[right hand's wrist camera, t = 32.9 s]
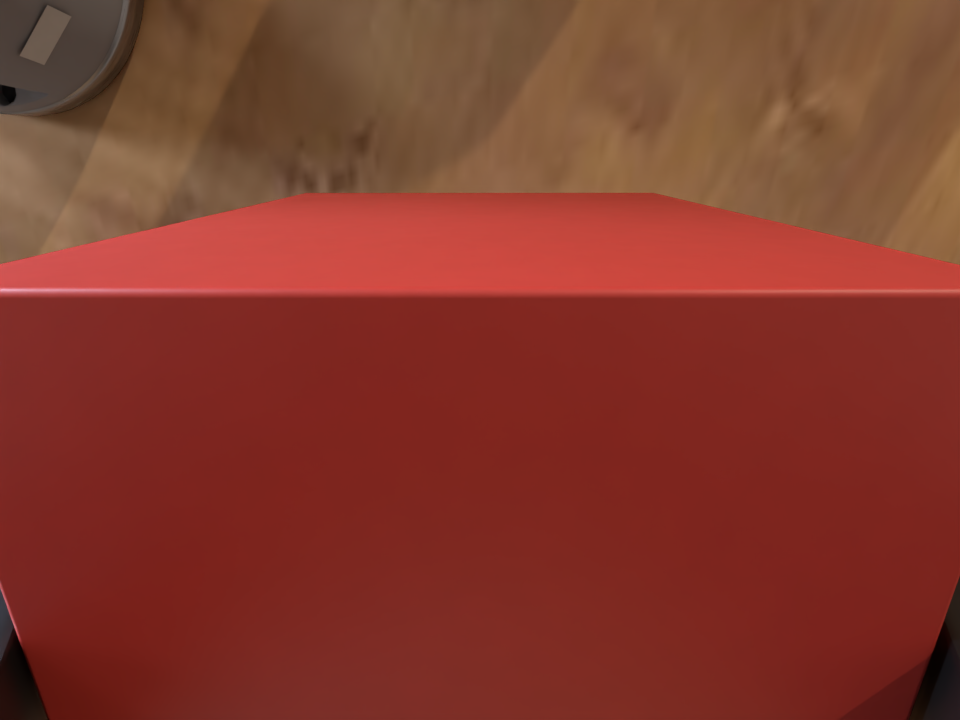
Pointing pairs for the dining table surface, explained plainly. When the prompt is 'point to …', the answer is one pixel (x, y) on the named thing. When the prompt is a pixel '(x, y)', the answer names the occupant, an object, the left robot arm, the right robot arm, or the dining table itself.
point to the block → (479, 464)
